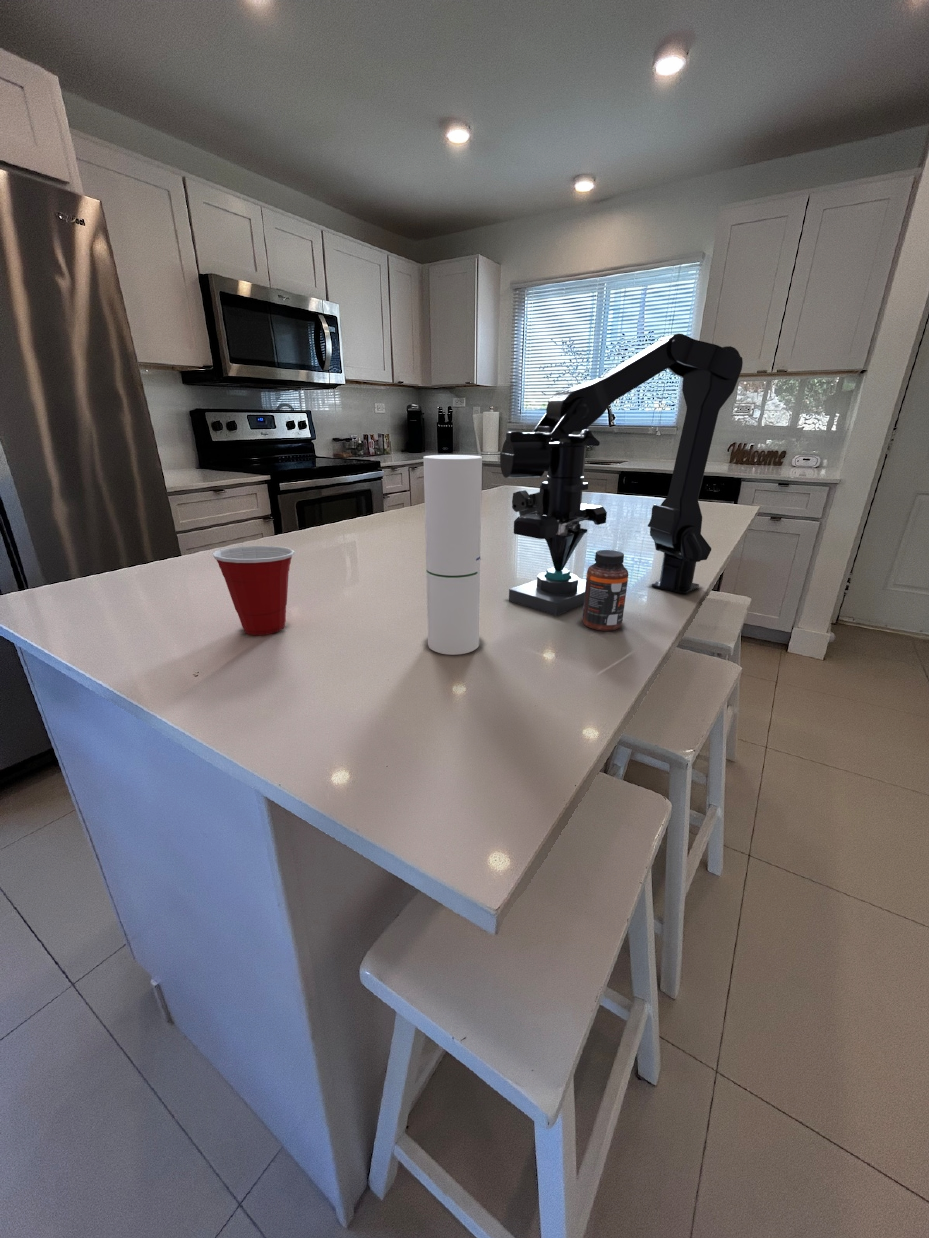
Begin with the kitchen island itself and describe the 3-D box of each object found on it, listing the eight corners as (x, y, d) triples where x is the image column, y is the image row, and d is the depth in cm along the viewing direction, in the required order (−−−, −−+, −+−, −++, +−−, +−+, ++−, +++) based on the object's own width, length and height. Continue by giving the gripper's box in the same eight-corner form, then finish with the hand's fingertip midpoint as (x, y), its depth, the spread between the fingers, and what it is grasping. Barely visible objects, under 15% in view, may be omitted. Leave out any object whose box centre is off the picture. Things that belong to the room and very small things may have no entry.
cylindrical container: (485, 637, 73) (489, 455, 64) (469, 657, 67) (471, 459, 58) (439, 630, 75) (436, 454, 66) (419, 650, 69) (413, 458, 60)
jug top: (555, 583, 97) (557, 563, 95) (602, 595, 90) (604, 574, 89) (508, 601, 88) (509, 578, 86) (556, 616, 81) (558, 592, 80)
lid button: (554, 575, 90) (555, 565, 90) (573, 580, 88) (574, 570, 87) (541, 580, 88) (541, 570, 87) (560, 585, 85) (561, 575, 84)
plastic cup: (318, 621, 79) (310, 545, 74) (266, 647, 70) (253, 563, 65) (265, 610, 83) (254, 537, 78) (209, 634, 74) (193, 553, 69)
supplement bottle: (623, 634, 74) (633, 559, 70) (581, 630, 76) (589, 556, 71) (620, 619, 80) (629, 548, 76) (581, 616, 81) (588, 546, 77)
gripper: (557, 468, 93) (552, 552, 98) (488, 476, 80) (487, 571, 86) (612, 473, 85) (603, 563, 91) (546, 483, 73) (540, 586, 79)
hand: (558, 570), depth 87 cm, fingers closed, pressing on lid button
